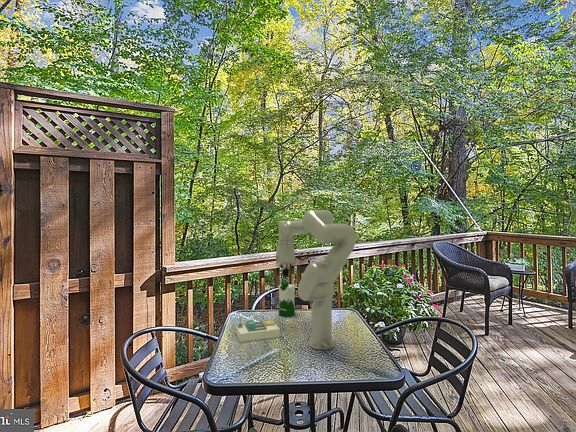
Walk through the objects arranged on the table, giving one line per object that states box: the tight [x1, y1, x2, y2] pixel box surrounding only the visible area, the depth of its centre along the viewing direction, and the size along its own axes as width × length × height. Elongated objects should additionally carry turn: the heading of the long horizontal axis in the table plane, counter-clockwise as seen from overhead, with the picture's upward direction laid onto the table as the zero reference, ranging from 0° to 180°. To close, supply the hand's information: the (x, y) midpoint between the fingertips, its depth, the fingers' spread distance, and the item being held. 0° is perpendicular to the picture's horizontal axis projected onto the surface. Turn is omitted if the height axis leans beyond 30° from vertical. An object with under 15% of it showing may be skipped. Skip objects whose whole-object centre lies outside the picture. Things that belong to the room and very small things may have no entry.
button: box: [264, 320, 276, 326], centre depth 170 cm, size 4×4×5 cm
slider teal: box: [248, 321, 255, 329], centre depth 162 cm, size 3×3×4 cm
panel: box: [235, 316, 281, 343], centre depth 165 cm, size 12×20×10 cm, turn 108°
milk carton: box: [277, 281, 296, 318], centre depth 197 cm, size 9×9×20 cm
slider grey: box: [245, 318, 254, 326], centre depth 167 cm, size 3×3×4 cm
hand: (285, 276), depth 179 cm, fingers closed
